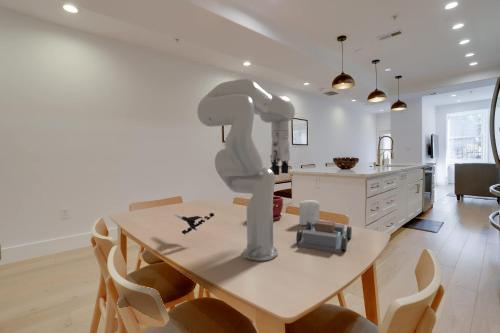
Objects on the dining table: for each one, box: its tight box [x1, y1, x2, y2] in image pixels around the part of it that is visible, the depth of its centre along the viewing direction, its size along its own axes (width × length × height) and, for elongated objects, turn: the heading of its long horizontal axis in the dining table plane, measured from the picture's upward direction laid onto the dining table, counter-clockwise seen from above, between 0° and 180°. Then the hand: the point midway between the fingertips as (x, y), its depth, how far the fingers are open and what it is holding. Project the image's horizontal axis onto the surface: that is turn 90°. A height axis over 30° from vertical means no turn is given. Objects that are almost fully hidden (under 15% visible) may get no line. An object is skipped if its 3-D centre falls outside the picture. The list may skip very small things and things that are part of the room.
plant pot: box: [273, 195, 284, 221], centre depth 137 cm, size 13×13×12 cm
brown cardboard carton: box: [315, 219, 335, 234], centre depth 102 cm, size 4×7×6 cm, turn 61°
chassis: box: [295, 221, 353, 254], centre depth 102 cm, size 22×18×6 cm
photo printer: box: [298, 199, 320, 226], centre depth 125 cm, size 10×4×12 cm, turn 98°
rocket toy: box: [173, 212, 215, 235], centre depth 108 cm, size 14×6×23 cm
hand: (280, 173), depth 110 cm, fingers open, 9 cm apart
